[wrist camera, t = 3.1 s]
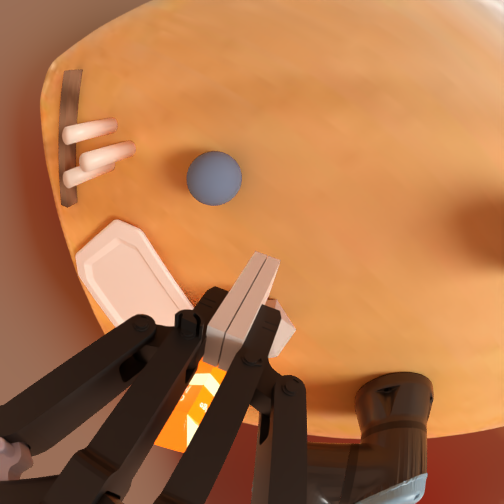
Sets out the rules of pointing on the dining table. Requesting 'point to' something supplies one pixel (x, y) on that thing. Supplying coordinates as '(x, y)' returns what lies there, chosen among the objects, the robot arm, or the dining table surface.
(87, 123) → the pin
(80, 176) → the pin
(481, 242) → the dining table surface
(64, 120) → the board
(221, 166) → the ball
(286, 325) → the die
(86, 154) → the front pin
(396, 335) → the dining table surface
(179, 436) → the orange juice
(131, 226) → the plate
